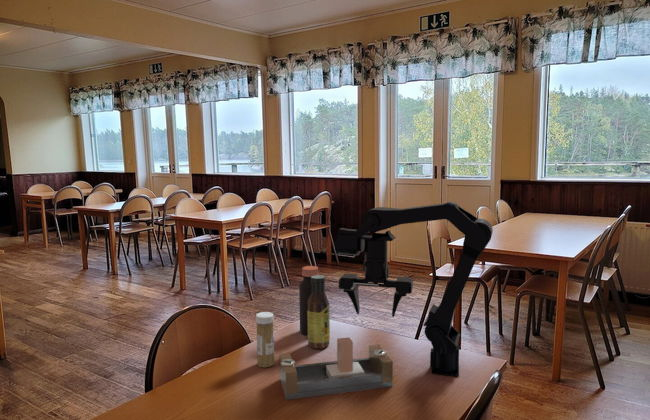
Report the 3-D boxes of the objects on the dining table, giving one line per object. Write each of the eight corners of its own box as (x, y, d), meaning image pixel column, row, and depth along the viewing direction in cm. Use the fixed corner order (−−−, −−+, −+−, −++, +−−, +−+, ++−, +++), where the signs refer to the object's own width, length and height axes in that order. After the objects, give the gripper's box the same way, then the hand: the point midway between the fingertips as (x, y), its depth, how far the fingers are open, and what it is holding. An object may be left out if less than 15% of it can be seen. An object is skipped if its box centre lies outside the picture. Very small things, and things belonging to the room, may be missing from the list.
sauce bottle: (329, 350, 133) (329, 280, 130) (307, 350, 133) (306, 280, 131) (329, 340, 139) (329, 273, 137) (308, 340, 140) (307, 273, 137)
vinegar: (295, 331, 147) (294, 267, 144) (313, 326, 151) (312, 264, 148) (308, 338, 141) (307, 271, 139) (326, 332, 146) (326, 268, 143)
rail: (379, 367, 122) (379, 342, 121) (393, 386, 112) (394, 359, 111) (278, 379, 116) (278, 352, 115) (284, 400, 107) (284, 371, 106)
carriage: (357, 368, 118) (357, 334, 117) (364, 379, 113) (364, 343, 112) (326, 372, 116) (325, 337, 115) (331, 383, 111) (331, 346, 110)
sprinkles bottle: (274, 367, 123) (273, 316, 121) (256, 368, 122) (255, 317, 120) (274, 359, 127) (273, 310, 125) (256, 360, 126) (255, 311, 125)
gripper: (415, 251, 129) (414, 308, 131) (347, 248, 134) (347, 303, 136) (411, 261, 118) (410, 322, 120) (337, 257, 123) (338, 316, 125)
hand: (375, 315), depth 126 cm, fingers open, 9 cm apart
